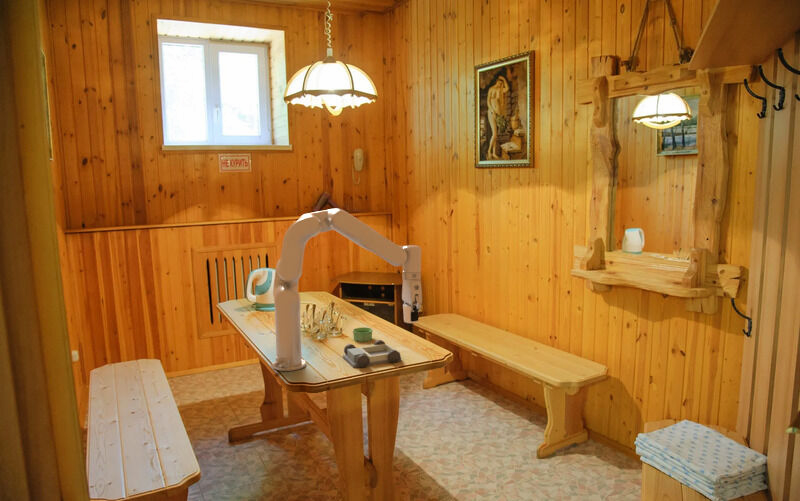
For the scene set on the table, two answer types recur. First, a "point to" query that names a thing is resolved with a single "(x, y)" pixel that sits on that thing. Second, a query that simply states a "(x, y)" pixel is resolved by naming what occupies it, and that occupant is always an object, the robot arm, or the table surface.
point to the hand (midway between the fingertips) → (410, 318)
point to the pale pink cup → (408, 313)
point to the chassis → (371, 354)
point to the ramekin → (362, 334)
